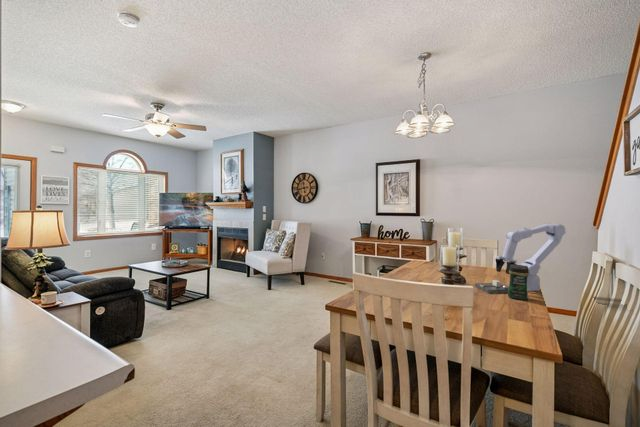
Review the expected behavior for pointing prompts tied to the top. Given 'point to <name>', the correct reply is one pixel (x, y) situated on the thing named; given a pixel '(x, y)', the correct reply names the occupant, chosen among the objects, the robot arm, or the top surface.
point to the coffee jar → (518, 282)
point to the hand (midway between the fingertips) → (502, 272)
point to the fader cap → (496, 283)
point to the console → (492, 288)
